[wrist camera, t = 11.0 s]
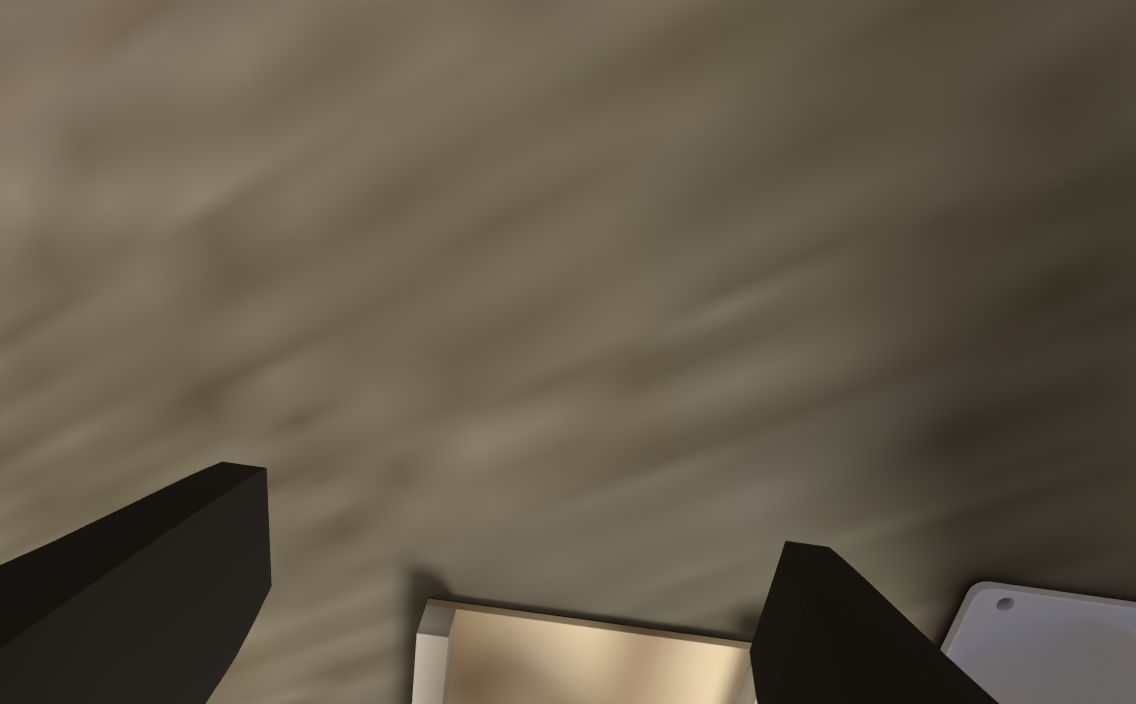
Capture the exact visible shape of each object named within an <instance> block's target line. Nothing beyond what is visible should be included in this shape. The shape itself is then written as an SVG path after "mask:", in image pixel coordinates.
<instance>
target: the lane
mask: <svg viewBox="0 0 1136 704" xmlns="http://www.w3.org/2000/svg"><path fill="white" fill-rule="evenodd" d="M751 645H752V643H749V642H741V641H734V640H727V639H720V638H712V637H705V636H698V635H691V634H683V633H676V632H669V631H662V630H654V629H647V628H640V627H633V626H625V625H618V624H611V623H603V622H596V621H589V620H582V619H574V618H567V617H560V616H553V615H545V614H538V613H531V612H524V611H516V610H509V609H502V608H495V607H487V606H480V605H473V604H466V603H458V602H451V601H444V600H437V599H429V598H428V601H427V604H426V607H425V610H424V613H423V616H422V619H421V622H420V625H419V628H418V631H417V638H416V653H415V668H414V682H413V697H412V704H757V699H756V694H755V687H754V680H753V674H752V667H751V660H750V653H749V651H750V648H751Z"/></svg>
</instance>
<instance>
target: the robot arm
mask: <svg viewBox="0 0 1136 704" xmlns="http://www.w3.org/2000/svg"><path fill="white" fill-rule="evenodd" d="M271 586H272V585H271V561H270V538H269V515H268V492H267V468H263V467H256V466H249V465H242V464H235V463H228V462H220V463H218V464H215V465H213V466H211V467H208V468H206V469H203V470H201V471H199V472H197V473H194V474H192V475H190V476H188V477H186V478H184V479H182V480H179V481H177V482H175V483H173V484H171V485H169V486H167V487H165V488H163V489H161V490H159V491H157V492H155V493H152V494H150V495H148V496H146V497H144V498H142V499H140V500H138V501H136V502H134V503H132V504H130V505H128V506H126V507H124V508H122V509H120V510H118V511H115V512H113V513H111V514H109V515H107V516H105V517H103V518H101V519H99V520H97V521H95V522H93V523H90V524H88V525H86V526H84V527H82V528H80V529H78V530H76V531H74V532H72V533H70V534H68V535H65V536H63V537H61V538H59V539H57V540H55V541H53V542H51V543H49V544H47V545H44V546H42V547H40V548H38V549H35V550H33V551H31V552H29V553H26V554H24V555H22V556H20V557H17V558H15V559H13V560H11V561H8V562H6V563H4V564H2V565H0V704H206V702H207V700H208V699H209V697H210V696H211V694H212V693H213V691H214V690H215V688H216V687H217V685H218V684H219V682H220V681H221V679H222V678H223V676H224V675H225V673H226V671H227V670H228V668H229V667H230V665H231V664H232V662H233V660H234V659H235V657H236V656H237V654H238V652H239V650H240V648H241V646H242V644H243V642H244V640H245V638H246V637H247V635H248V633H249V631H250V629H251V627H252V625H253V623H254V621H255V619H256V617H257V615H258V613H259V611H260V609H261V607H262V605H263V603H264V600H265V598H266V596H267V594H268V592H269V590H270V588H271ZM1003 598H1004V599H1003ZM1001 599H1003V600H1001ZM999 600H1001V601H999ZM749 653H750V660H751V667H752V674H753V680H754V687H755V694H756V699H757V704H1136V602H1131V601H1124V600H1117V599H1110V598H1103V597H1096V596H1088V595H1081V594H1074V593H1067V592H1060V591H1053V590H1046V589H1039V588H1031V587H1024V586H1017V585H1010V584H1003V583H996V582H980V583H977V584H975V585H973V586H972V587H971V588H970V589H969V591H968V592H967V594H966V596H965V599H964V601H963V603H962V605H961V607H960V609H959V611H958V613H957V615H956V617H955V620H954V622H953V624H952V626H951V628H950V630H949V632H948V634H947V636H946V638H945V640H944V643H943V645H942V647H941V649H939V648H938V647H937V646H936V645H934V644H933V643H932V642H931V641H930V640H929V639H928V638H927V637H926V636H925V635H924V634H923V633H922V632H921V631H920V630H918V629H917V628H916V627H915V626H914V625H913V624H912V623H911V622H910V621H909V620H908V619H907V618H906V617H905V616H904V615H903V614H902V613H901V612H899V611H898V610H897V609H896V608H895V607H894V606H893V605H892V604H891V603H890V602H889V601H888V600H887V599H886V598H885V597H884V596H883V595H882V594H881V593H879V592H878V591H877V590H876V589H875V588H874V587H873V586H872V585H871V584H870V583H869V582H868V581H867V580H866V579H865V578H864V577H862V576H861V575H860V574H859V573H858V572H857V571H856V570H855V569H854V568H853V567H852V566H851V565H849V564H848V563H847V562H846V561H845V560H844V559H843V558H842V557H840V556H839V555H838V554H837V553H836V552H834V551H833V550H832V549H831V548H830V547H825V546H818V545H811V544H804V543H797V542H790V541H785V544H784V548H783V551H782V554H781V557H780V560H779V563H778V566H777V569H776V572H775V575H774V578H773V581H772V584H771V587H770V590H769V593H768V596H767V599H766V602H765V605H764V608H763V611H762V614H761V617H760V621H759V624H758V627H757V630H756V633H755V636H754V639H753V642H752V645H751V648H750V651H749Z"/></svg>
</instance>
